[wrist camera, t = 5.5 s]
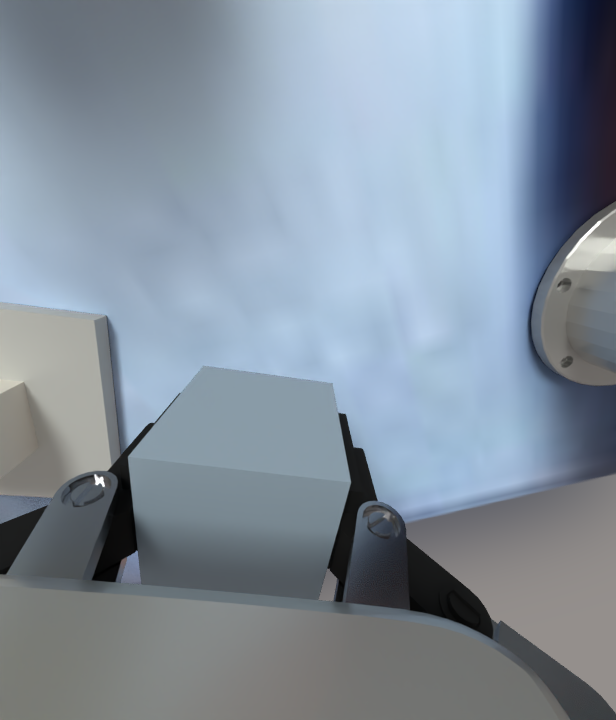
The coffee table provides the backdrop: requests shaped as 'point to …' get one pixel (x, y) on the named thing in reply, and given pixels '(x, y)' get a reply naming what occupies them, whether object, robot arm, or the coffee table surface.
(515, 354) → the coffee table surface
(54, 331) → the plate
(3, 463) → the base brick
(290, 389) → the blue brick
